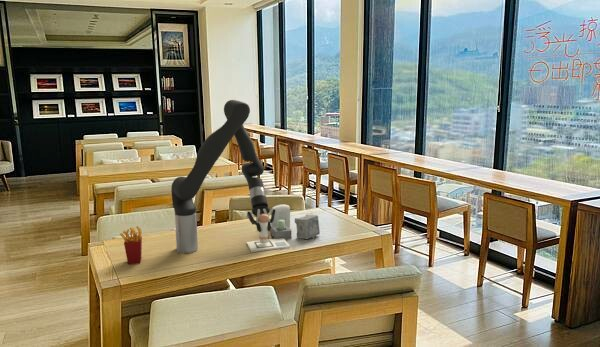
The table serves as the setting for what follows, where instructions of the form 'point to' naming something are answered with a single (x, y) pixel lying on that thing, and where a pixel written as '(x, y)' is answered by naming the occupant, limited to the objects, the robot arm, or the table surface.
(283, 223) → the button
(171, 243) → the table surface
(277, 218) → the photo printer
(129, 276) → the table surface
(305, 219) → the grey stone block
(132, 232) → the french fries
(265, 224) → the marker
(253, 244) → the sheet
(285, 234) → the button housing
